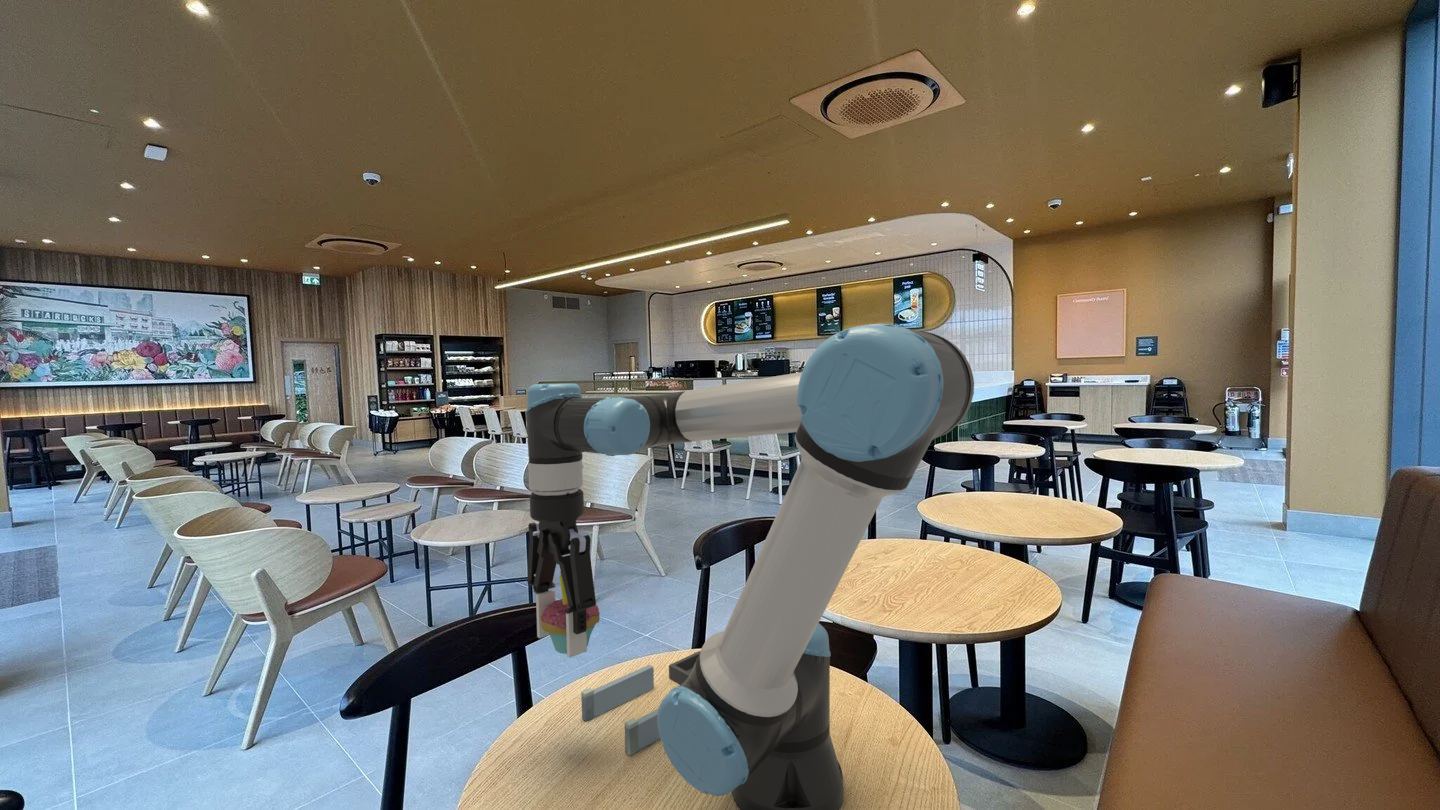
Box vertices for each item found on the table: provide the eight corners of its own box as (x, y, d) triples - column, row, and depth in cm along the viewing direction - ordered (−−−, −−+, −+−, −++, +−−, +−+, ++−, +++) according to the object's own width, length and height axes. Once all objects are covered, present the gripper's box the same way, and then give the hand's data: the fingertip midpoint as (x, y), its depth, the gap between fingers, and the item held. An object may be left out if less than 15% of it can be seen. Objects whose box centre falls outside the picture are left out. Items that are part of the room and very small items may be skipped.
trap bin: (746, 687, 104) (746, 674, 104) (716, 704, 99) (716, 690, 99) (699, 663, 113) (699, 651, 113) (669, 678, 108) (668, 665, 108)
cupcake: (582, 663, 81) (579, 578, 80) (529, 656, 83) (525, 574, 83) (610, 636, 89) (607, 559, 89) (561, 631, 91) (558, 556, 91)
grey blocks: (699, 716, 96) (699, 688, 96) (630, 755, 86) (629, 725, 86) (649, 686, 105) (649, 661, 105) (582, 718, 96) (581, 691, 95)
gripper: (620, 495, 79) (624, 658, 80) (545, 478, 94) (549, 616, 95) (570, 504, 74) (576, 679, 75) (500, 484, 89) (505, 630, 90)
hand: (561, 643), depth 85 cm, fingers closed on cupcake, 8 cm apart
